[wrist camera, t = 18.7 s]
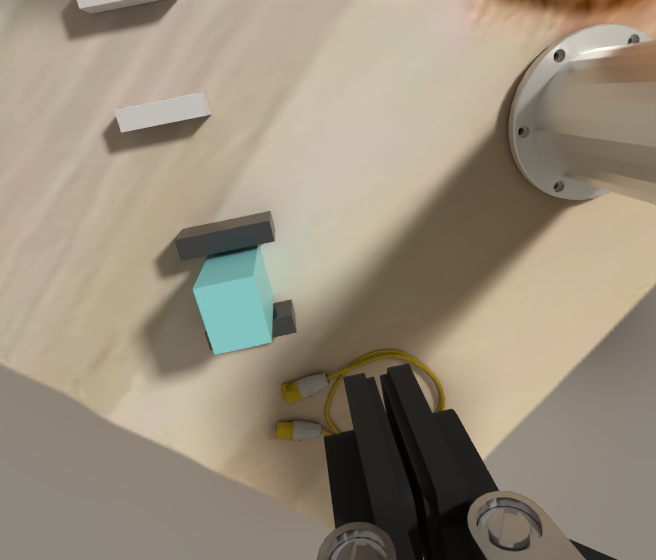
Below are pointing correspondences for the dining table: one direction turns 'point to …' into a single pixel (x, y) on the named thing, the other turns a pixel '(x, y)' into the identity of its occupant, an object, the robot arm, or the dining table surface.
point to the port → (231, 238)
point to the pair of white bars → (157, 110)
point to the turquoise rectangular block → (235, 299)
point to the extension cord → (319, 381)
